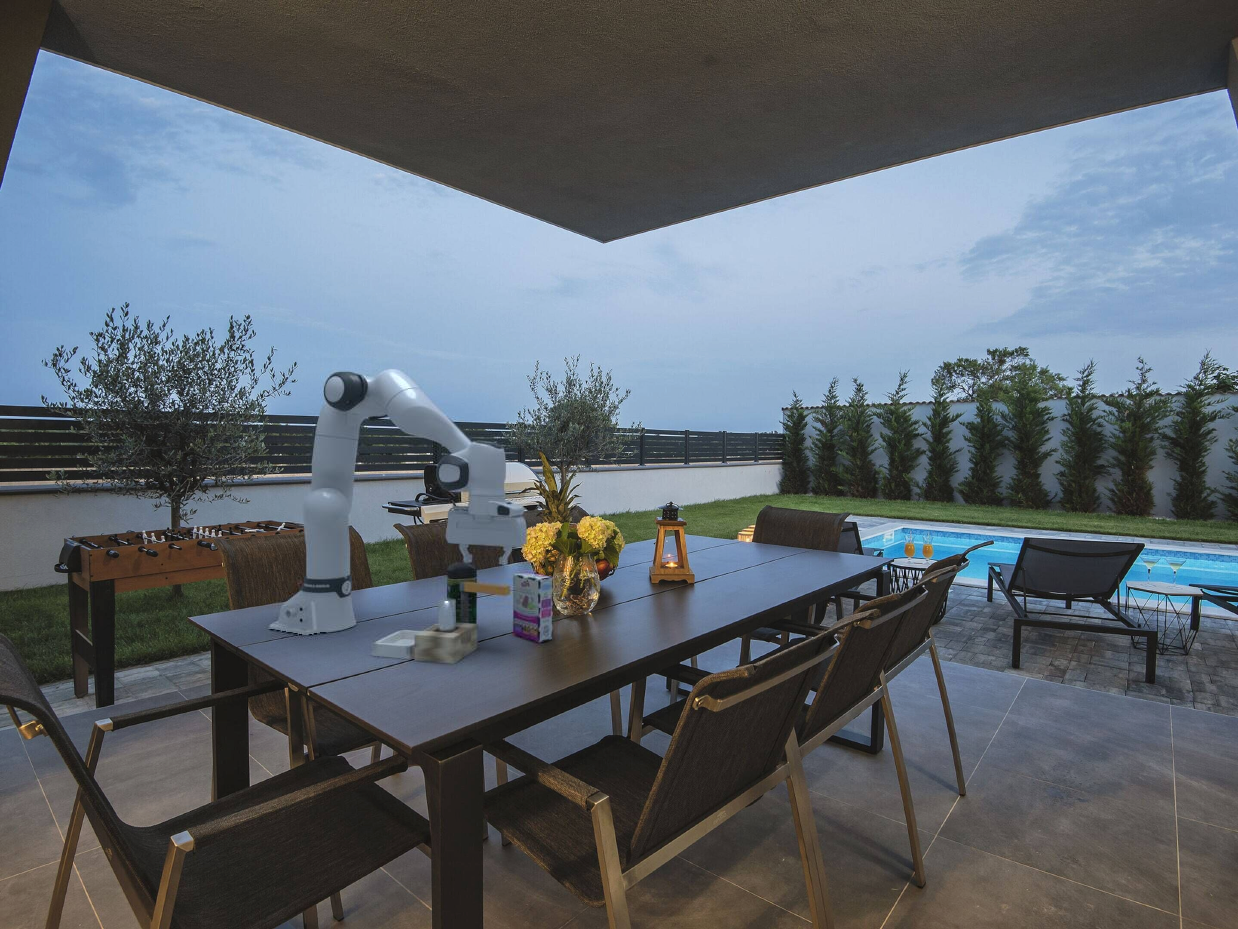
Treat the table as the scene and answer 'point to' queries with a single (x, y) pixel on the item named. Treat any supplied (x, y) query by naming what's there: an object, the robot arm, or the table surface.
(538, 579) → the candy bar box
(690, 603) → the table surface
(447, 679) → the table surface
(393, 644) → the tray
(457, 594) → the coffee jar
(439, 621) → the steel pin
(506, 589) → the bar
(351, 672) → the table surface
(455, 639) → the block
